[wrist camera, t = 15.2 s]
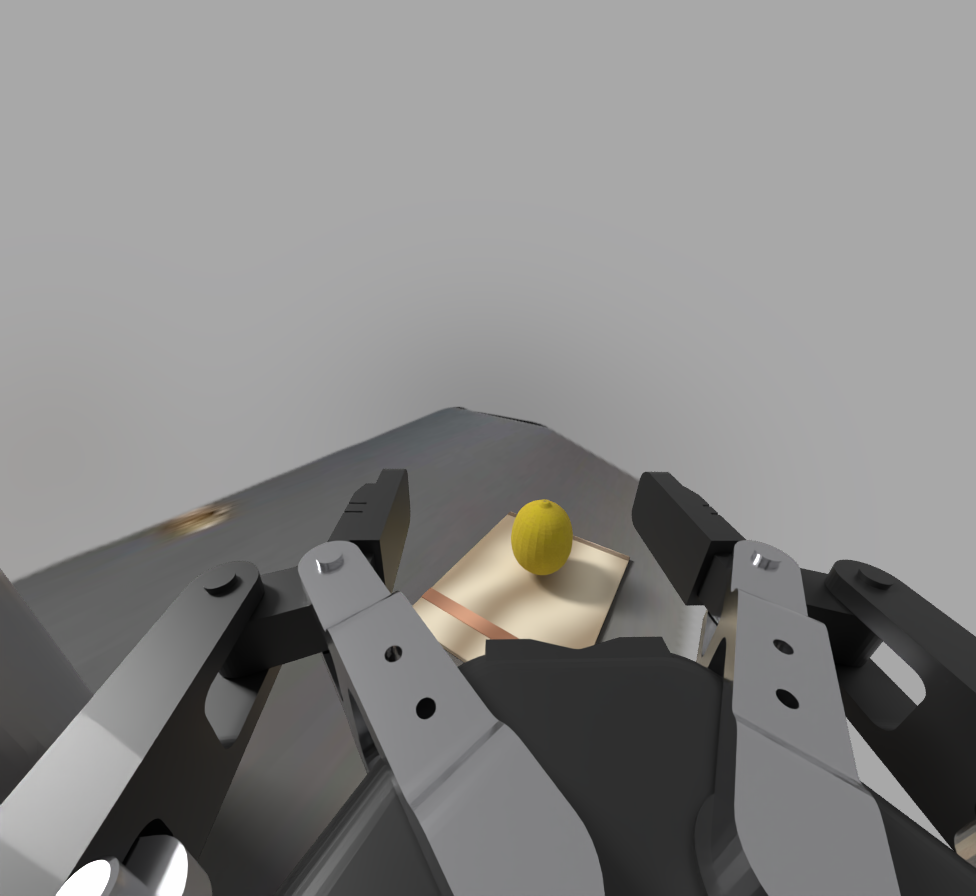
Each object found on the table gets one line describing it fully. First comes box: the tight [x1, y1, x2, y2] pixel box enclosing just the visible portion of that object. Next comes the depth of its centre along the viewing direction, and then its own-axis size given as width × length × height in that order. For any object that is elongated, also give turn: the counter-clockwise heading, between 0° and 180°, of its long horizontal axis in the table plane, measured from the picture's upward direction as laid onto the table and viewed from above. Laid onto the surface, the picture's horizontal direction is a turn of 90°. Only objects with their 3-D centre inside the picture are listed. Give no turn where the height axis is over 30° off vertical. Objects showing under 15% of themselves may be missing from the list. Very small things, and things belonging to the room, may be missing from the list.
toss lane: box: [412, 512, 630, 663], centre depth 32 cm, size 14×18×1 cm
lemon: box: [511, 500, 573, 575], centre depth 32 cm, size 6×6×8 cm
